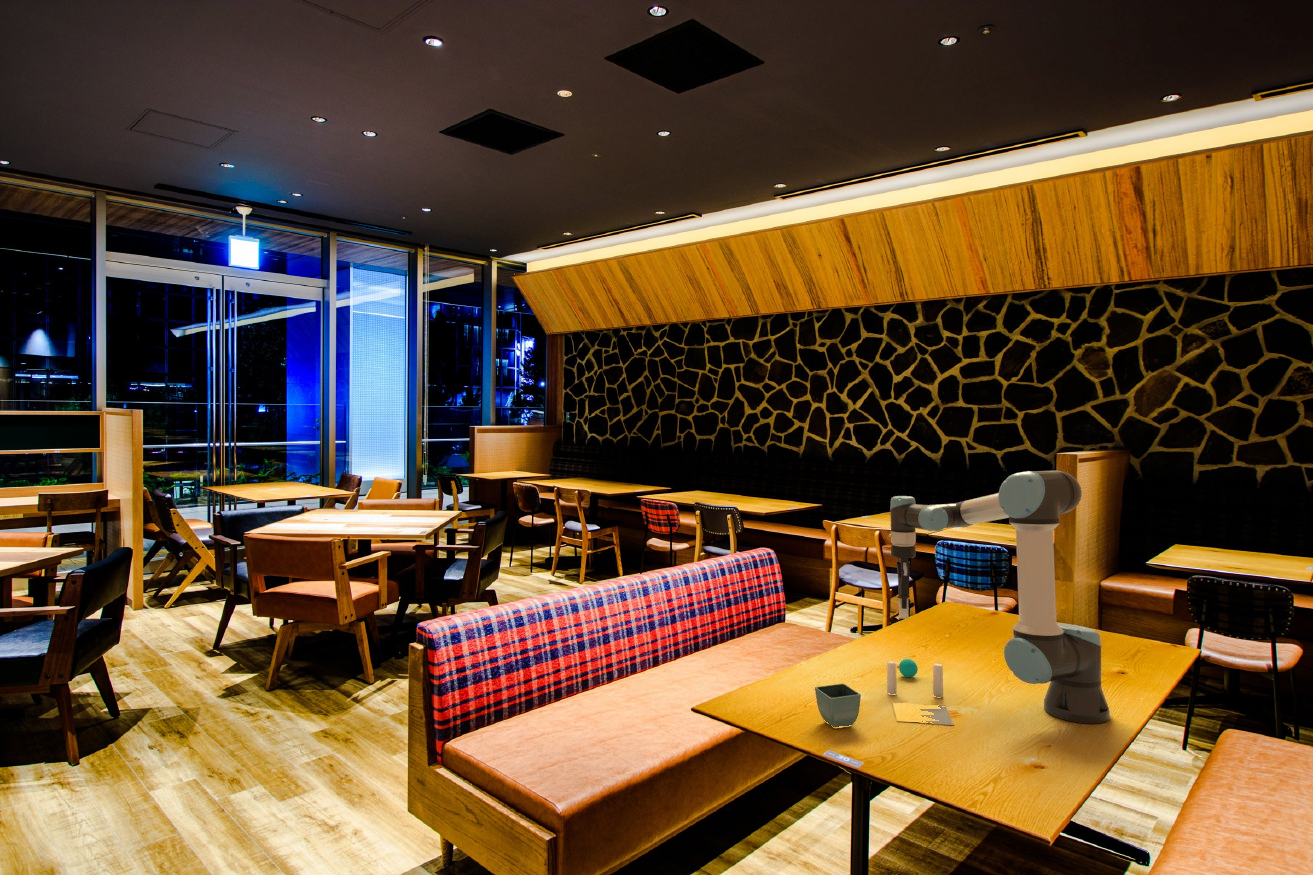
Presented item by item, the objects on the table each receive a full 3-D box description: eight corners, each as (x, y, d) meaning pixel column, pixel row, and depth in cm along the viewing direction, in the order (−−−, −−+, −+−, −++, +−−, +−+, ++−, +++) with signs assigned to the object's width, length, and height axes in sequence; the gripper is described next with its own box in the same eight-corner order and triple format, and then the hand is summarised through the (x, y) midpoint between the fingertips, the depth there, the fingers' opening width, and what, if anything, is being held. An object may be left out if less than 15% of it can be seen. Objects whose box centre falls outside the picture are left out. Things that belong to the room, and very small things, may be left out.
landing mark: (954, 725, 185) (954, 724, 185) (896, 721, 188) (896, 720, 188) (944, 705, 199) (944, 705, 199) (891, 702, 202) (891, 701, 202)
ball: (918, 680, 219) (918, 662, 219) (899, 679, 220) (899, 661, 220) (916, 674, 225) (916, 656, 225) (897, 673, 226) (897, 655, 226)
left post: (897, 695, 207) (896, 664, 207) (887, 694, 207) (887, 663, 207) (896, 692, 209) (895, 661, 209) (886, 691, 210) (886, 660, 210)
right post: (943, 698, 204) (943, 666, 204) (934, 697, 205) (933, 666, 205) (942, 695, 206) (941, 663, 206) (932, 694, 207) (932, 663, 207)
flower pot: (831, 733, 181) (830, 698, 181) (814, 720, 189) (813, 686, 189) (862, 729, 183) (861, 694, 183) (844, 716, 192) (843, 682, 192)
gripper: (889, 541, 239) (889, 612, 239) (892, 547, 226) (893, 622, 226) (912, 541, 237) (913, 613, 237) (918, 547, 225) (918, 623, 225)
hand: (903, 617), depth 232 cm, fingers closed
